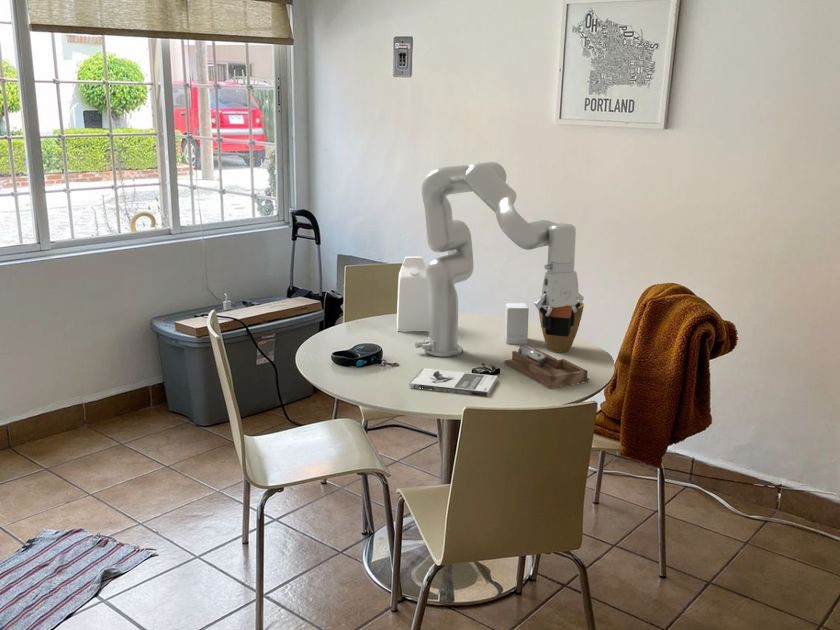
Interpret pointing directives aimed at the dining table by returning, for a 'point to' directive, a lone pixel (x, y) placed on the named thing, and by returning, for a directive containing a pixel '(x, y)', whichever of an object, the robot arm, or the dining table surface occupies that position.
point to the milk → (413, 296)
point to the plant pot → (560, 341)
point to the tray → (548, 370)
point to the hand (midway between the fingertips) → (558, 326)
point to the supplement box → (516, 323)
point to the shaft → (532, 354)
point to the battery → (560, 321)
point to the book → (454, 382)
